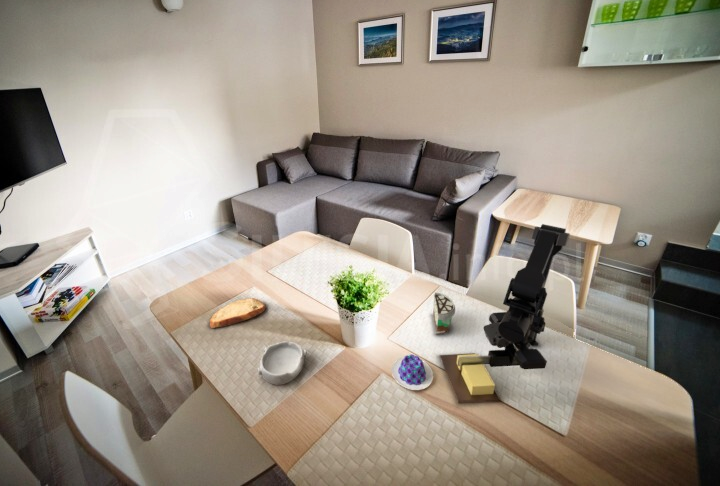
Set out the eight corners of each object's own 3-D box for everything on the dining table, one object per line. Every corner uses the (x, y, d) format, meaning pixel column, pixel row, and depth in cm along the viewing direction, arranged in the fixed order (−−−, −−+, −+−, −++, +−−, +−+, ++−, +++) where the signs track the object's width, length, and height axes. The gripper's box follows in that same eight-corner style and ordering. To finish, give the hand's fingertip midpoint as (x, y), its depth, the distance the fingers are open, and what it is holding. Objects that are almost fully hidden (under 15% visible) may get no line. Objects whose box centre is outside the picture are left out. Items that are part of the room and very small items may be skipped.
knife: (528, 358, 96) (530, 348, 94) (533, 364, 94) (535, 354, 92) (456, 362, 97) (457, 352, 95) (459, 368, 94) (460, 358, 93)
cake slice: (455, 339, 109) (458, 316, 105) (436, 338, 110) (438, 314, 106) (450, 314, 120) (452, 292, 116) (432, 313, 121) (434, 291, 117)
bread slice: (205, 326, 124) (203, 318, 123) (233, 297, 139) (231, 290, 138) (245, 337, 118) (243, 329, 116) (269, 305, 133) (268, 298, 131)
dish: (310, 355, 108) (309, 344, 106) (294, 392, 96) (292, 380, 94) (271, 346, 112) (269, 336, 110) (251, 380, 101) (248, 369, 99)
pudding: (383, 366, 101) (384, 354, 99) (415, 352, 105) (416, 340, 103) (408, 398, 91) (408, 385, 89) (441, 381, 95) (443, 368, 93)
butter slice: (476, 362, 99) (477, 353, 98) (479, 369, 97) (481, 360, 95) (456, 363, 99) (457, 354, 98) (459, 370, 97) (460, 361, 96)
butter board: (474, 355, 103) (474, 353, 102) (499, 401, 89) (499, 398, 88) (439, 357, 103) (439, 355, 103) (458, 403, 89) (458, 400, 89)
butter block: (481, 372, 96) (483, 364, 94) (493, 394, 89) (495, 385, 88) (461, 373, 96) (462, 365, 95) (471, 395, 90) (472, 386, 88)
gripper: (474, 298, 97) (469, 337, 103) (507, 347, 80) (498, 390, 86) (512, 295, 96) (504, 335, 103) (554, 344, 80) (541, 388, 86)
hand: (510, 360), depth 95 cm, fingers closed on knife, 2 cm apart
